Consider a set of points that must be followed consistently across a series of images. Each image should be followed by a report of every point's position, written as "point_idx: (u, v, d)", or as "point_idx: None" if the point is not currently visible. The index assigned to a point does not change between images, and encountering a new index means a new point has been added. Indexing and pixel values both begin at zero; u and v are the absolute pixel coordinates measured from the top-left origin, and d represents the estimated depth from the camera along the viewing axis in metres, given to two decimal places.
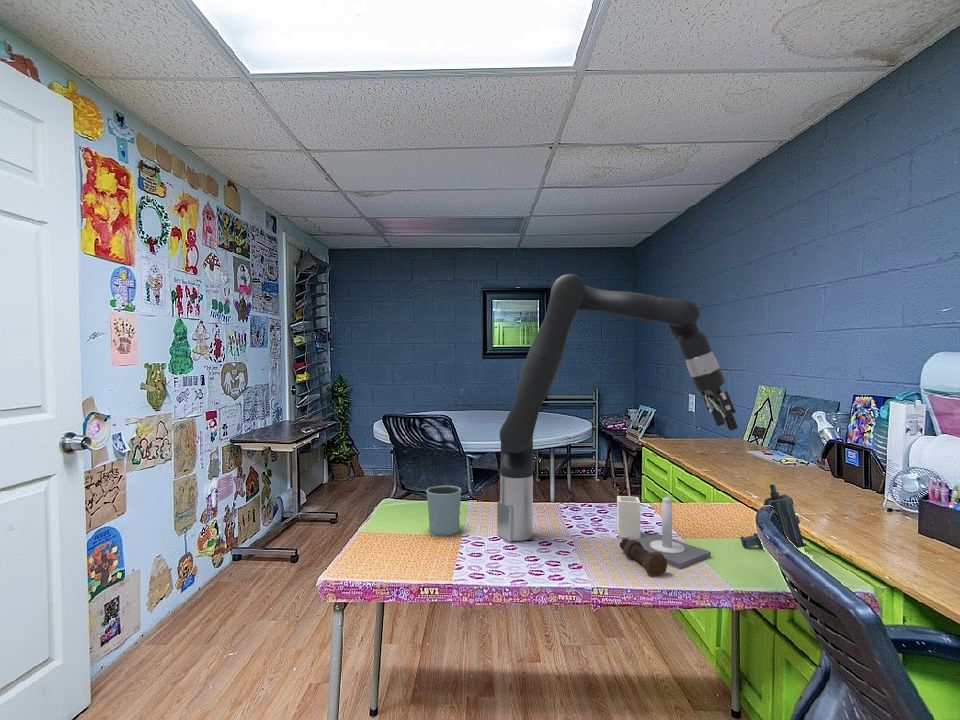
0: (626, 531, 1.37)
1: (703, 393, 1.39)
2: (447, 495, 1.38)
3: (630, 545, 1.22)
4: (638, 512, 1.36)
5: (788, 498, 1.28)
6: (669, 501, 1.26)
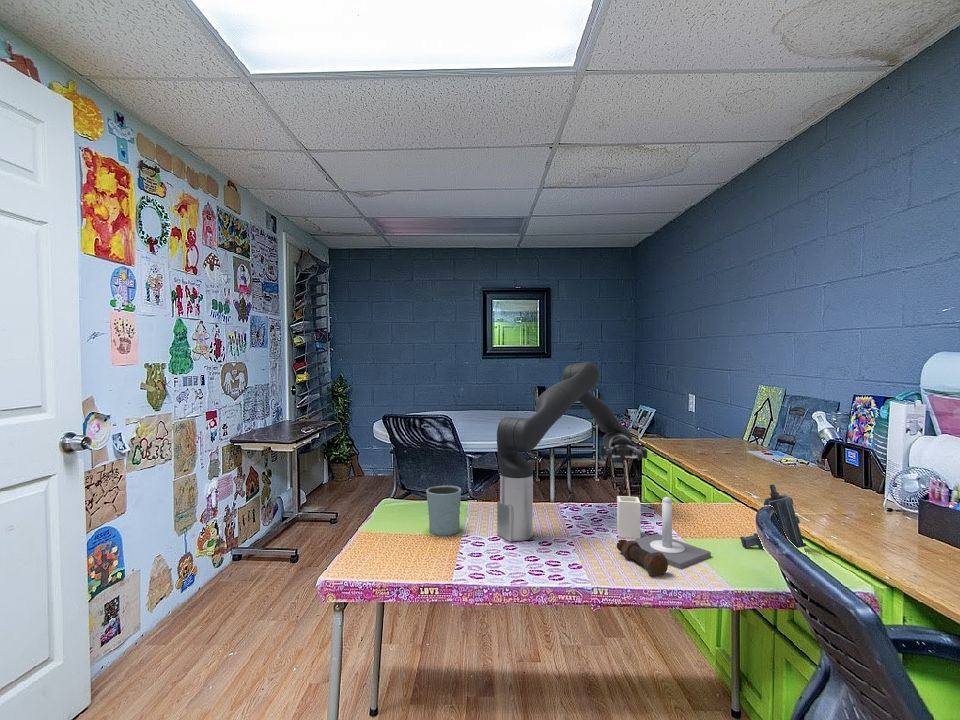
0: (626, 531, 1.37)
1: (604, 447, 1.61)
2: (447, 495, 1.38)
3: (628, 546, 1.22)
4: (638, 512, 1.36)
5: (788, 498, 1.28)
6: (669, 501, 1.26)
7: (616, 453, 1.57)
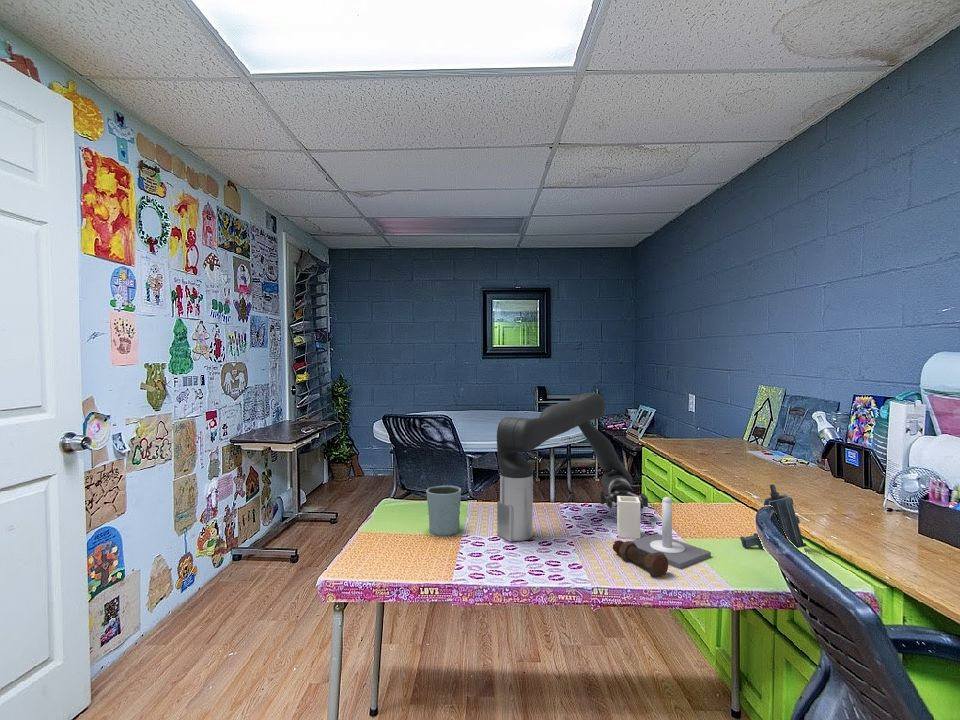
0: (626, 531, 1.37)
1: (604, 493, 1.58)
2: (447, 495, 1.38)
3: (626, 547, 1.21)
4: (638, 512, 1.36)
5: (788, 498, 1.28)
6: (669, 501, 1.26)
7: (616, 500, 1.54)
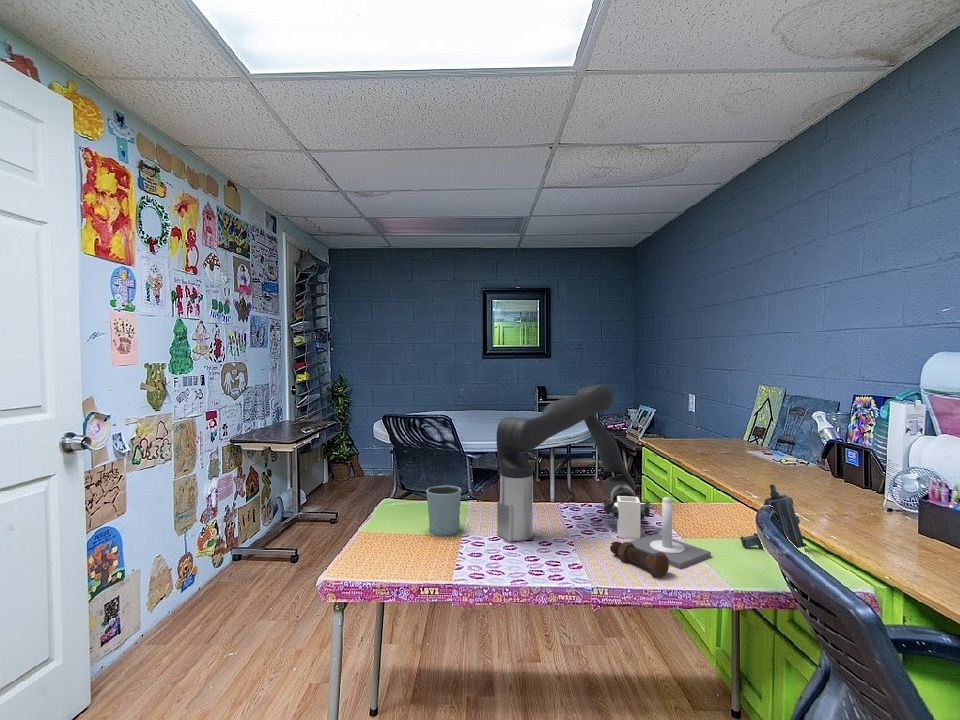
0: (626, 531, 1.37)
1: (606, 501, 1.48)
2: (447, 495, 1.38)
3: (625, 548, 1.20)
4: (638, 512, 1.36)
5: (788, 498, 1.28)
6: (669, 501, 1.26)
7: None
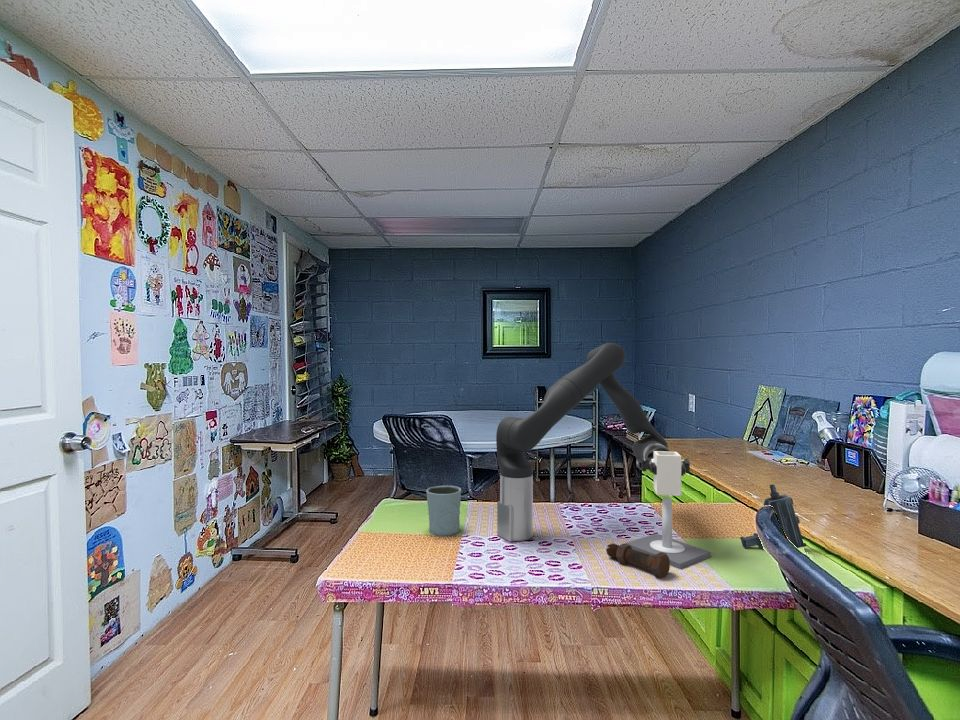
0: (666, 487, 1.24)
1: None
2: (447, 495, 1.38)
3: (624, 550, 1.19)
4: (678, 467, 1.24)
5: (788, 498, 1.28)
6: (669, 501, 1.26)
7: None
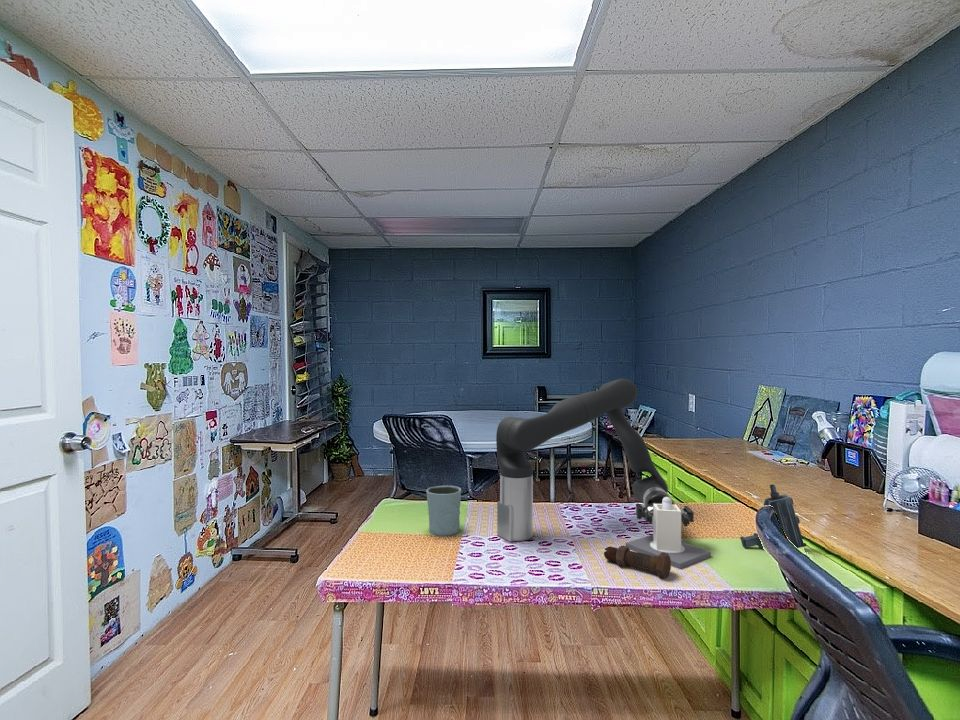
0: (666, 542, 1.24)
1: None
2: (447, 495, 1.38)
3: (624, 552, 1.18)
4: (678, 522, 1.24)
5: (788, 498, 1.28)
6: (669, 501, 1.26)
7: None
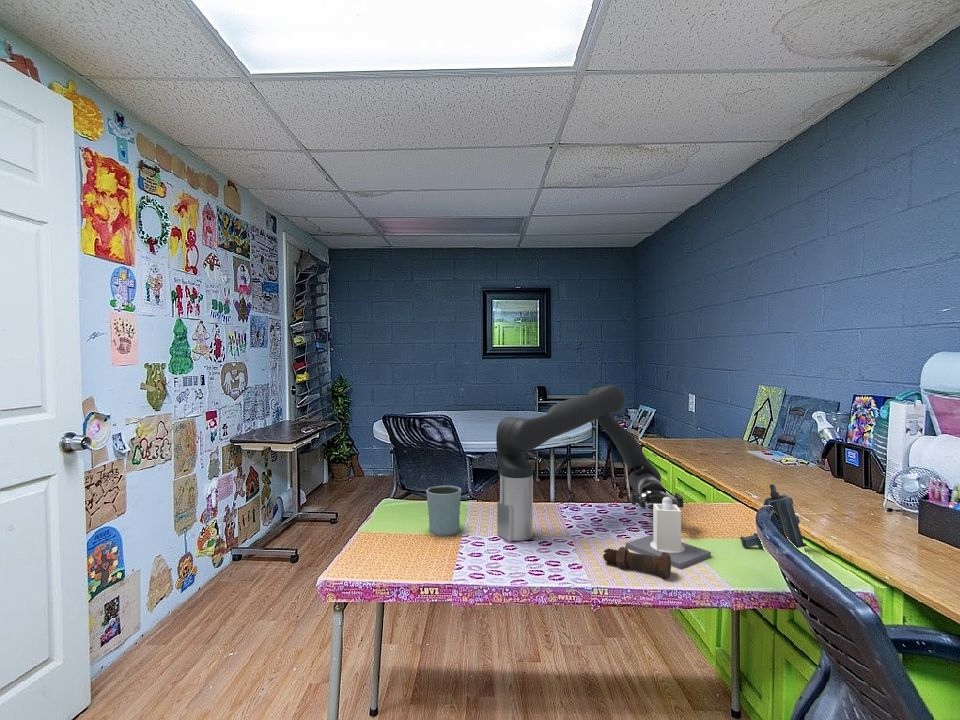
0: (666, 542, 1.24)
1: (635, 493, 1.48)
2: (447, 495, 1.38)
3: (624, 554, 1.17)
4: (678, 522, 1.24)
5: (788, 498, 1.28)
6: (669, 501, 1.26)
7: (648, 500, 1.44)
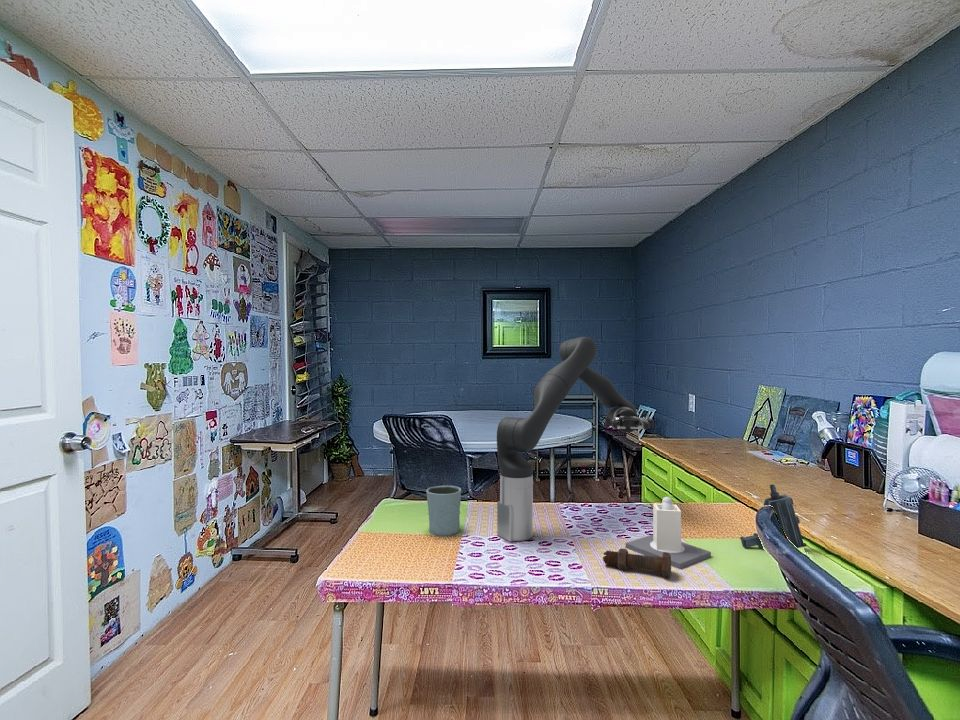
0: (666, 542, 1.24)
1: (609, 418, 1.56)
2: (447, 495, 1.38)
3: (625, 555, 1.16)
4: (678, 522, 1.24)
5: (788, 498, 1.28)
6: (669, 501, 1.26)
7: (621, 424, 1.53)
